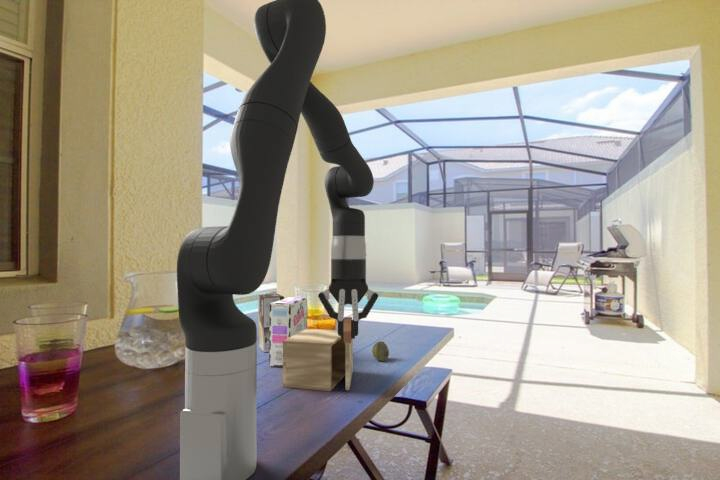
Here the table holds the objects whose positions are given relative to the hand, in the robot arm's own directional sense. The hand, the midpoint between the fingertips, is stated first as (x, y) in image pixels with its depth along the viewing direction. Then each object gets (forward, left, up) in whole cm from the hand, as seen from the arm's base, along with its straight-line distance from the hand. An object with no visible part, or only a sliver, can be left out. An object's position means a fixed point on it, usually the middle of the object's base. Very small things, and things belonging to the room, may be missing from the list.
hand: (348, 337), depth 87 cm
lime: (+24, -2, -11) cm, 27 cm away
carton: (+5, +9, -11) cm, 15 cm away
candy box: (+18, +22, -11) cm, 31 cm away
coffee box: (+29, +33, -11) cm, 45 cm away
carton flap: (+5, +1, -11) cm, 12 cm away
